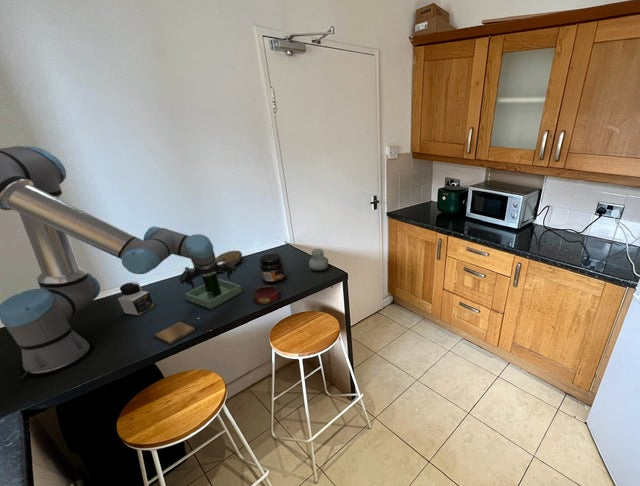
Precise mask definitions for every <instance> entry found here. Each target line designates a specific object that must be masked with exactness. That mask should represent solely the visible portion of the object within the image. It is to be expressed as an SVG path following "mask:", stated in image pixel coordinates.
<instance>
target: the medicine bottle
mask: <svg viewBox="0 0 640 486" xmlns="http://www.w3.org/2000/svg"><path fill="white" fill-rule="evenodd" d="M119 290H120V292H121V294H122V296H120V297H119V298H117V300H118V302H119V305H120V307H121V309H122V311H123V313H124V314H127V315H133V316H134V315H135V316H141V315H142V314H143V313H146V312H147V311H149V310H150V309H152V308H153V307H155V304H154V302H153V299H152V297H151V295H150V292H149V291H146V290H145V291H144V290H143V289H142V287H141V284H140V283H139V282H137V281H129V282H126V283H124V284H122V285H121V286H120V287H119Z"/></svg>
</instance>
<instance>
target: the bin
mask: <svg viewBox="0 0 640 486" xmlns="http://www.w3.org/2000/svg"><path fill="white" fill-rule="evenodd" d="M217 279H218V282H219V285H220V289H221V295H220V296H218V297H216V298H210V297H209V296H208V294H207V291H206V288H205V285H204V284H203V285H200V286H198V287H195V288H193V289H192V290H190V291H188V292H185V293H184V296H185V298H186V301H188V302H190V303H193V304H196V305H199V306H201V307H204V308H206V309H210V310H212V309H214V308H215V307H217V306H219V305H221V304H223V303H225V302H227V301H228V300H230V299H232V298H234V297H235V296H237V295H239V294H241V293H243V289H242V285H240V284H237V283H234V282H230V281H227V280H225V279H221V278H218V277H217Z"/></svg>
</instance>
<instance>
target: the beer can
mask: <svg viewBox="0 0 640 486" xmlns="http://www.w3.org/2000/svg"><path fill="white" fill-rule="evenodd" d="M200 277H201V279H202V281H203V285H205V288H206V291H207V294H208V296H209V297H210V298H216V297H218V296H220V295H221V289H220V285H219V282H218V279H219V278H218V276H217V273H216V272H211V273H208V274H203V275H201V276H200ZM217 278H218V279H217Z"/></svg>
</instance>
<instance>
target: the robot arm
mask: <svg viewBox="0 0 640 486" xmlns="http://www.w3.org/2000/svg"><path fill="white" fill-rule="evenodd" d="M66 178H67V171H66V168H65V166H64V164H63V163H62V161H61V160H59V158H57V156H55V155H53V154H52V153H51V152H50V151H48V150H46V149H43V148H40V147H37V146H31V145H29V146H28V145H24V146H23V145H20V146H19V145H15V146H8V147H1V148H0V210H3V211H15V212H17V213H18V214H19V216H20V219H21V221H22V222H21V223H22V225H23V228H24V229H25V233H26V235H27V238H28V240H29V242H30V245H31V249H32V251H33V253H34V256H35V258H36V261H37V264H38V266H39V269H40V271H41V273H40V275H38V276H37V278H36V281H37V283H38V286H39V288H32V289H28V290H25V291H22V292H20V293H15V294H14V295H11V296H9V297H8V298H6V299H4V300H3V301H2V302H1V303H0V322H1V324H2V325H3V326H4V327H5V328H6V330H7V331H8V333H9V334H10V335H11V337H12V338H13V339H14V341H15V342H16V345H18V347H19V348H20V350H21V359H22V361H21V362H22V367H23V370H24V371H25V372H24V373H23V374H22V375H21V376H20V378H19V380H24V379H25V378H26V377H27V375H29V376H44V375H49V374H53V373H56V372H59V371H61V370H64V369H66V368H68V367H71V366H73V365H74V364H76V363H78V362H80V360H82V359H83V358H85V357H86V356H87V355H88V354H89V352H90V351H91V345H90V343H89V342H88V341H87V340H86V339H85V338H83V337H82V336H81V335H80V334H79V333H77V332H75V331H74V330H73V329H72V327H71V325H70V324H69V322H68V320H69V319H70V318H72V317H73V316H75V315H76V314H77V313H78V312H80V311H81V310H82V309H84V308H85V307H86V306H89V305H90V304H91V303H92V302H94V301H95V299H96V298H97V297H98V296H99V295H100V293H101V285H100V282H99V280H98V279H97V278H96V277H93V275H92V274H91V273H89V272H87V270H86V269H84V268H83V267H79V264H78V263H79V262H78V260H77V257H76V255H75V254H76V253H75V250H74V248H73V245H72V242H71V239H70V237H71V238H74V239H76V240H78V241H80V242H82V243H85V244H87V245H89V246H91V247H93V248H95V249H98V250H100V251H102V252H105V253H107V254H109V255H111V256H112V257H116V258H117V259H119V260H121V264H122V267H123V268H124V269H126V270H127V271H128V272H129V273H132V274H135V275H145V274H148V273H149V272H151V271H152V270H154V269H156V268H157V267H159V265H160V264H161V263H162V262H164V261H165V260H166V259H168V258H169V257H170V256H172V255H173V256H178V257H182V258H187V259H190V260H191V263H192V265H193V267H191V268H190V267H188V266H186V267H184V270H183V272H182V273H181V274H180V275H179V277H178V280H179V284H180V285H183V284H186V285H188V286H189V285H190V286H191V288H192V289H196V287H195V284H194V281H193V280H195V279H196V278H198V277H202V276H201V275H203V274H208V273H211V272H218V273H226V275H227V278H228V280H231V275H233V272H237V271H238V269H237V267H236V264H235V265H234V264H231V263H229V262H227V261H226V260H225V259H223V260H222V261H221V262H219V263H218V262H217V261H216V257H217V256H216V254H215V251H214V245H213V243H212V241H211V240H210V238H209V237H208V236H206V235H204V234H201V233H198V234H197V233H196V234H191V235H189V234H185V233H181V232H178V231H174V230H171V229H168V228H165V227H160V226H150V227H149V228H147V231H145V233H144V235H143V239H142V238H139V237H137V236H136V235H133V234H131V233H128V232H127V231H124V230H123V229H121V228H119V227H116V226H115V225H113V224H111V223H109V222H106V221H105V220H103V219H100V218H99V217H96V216H94V215H93V214H91V213H88V212H86V211H85V210H82V209H81V208H78V207H77V206H74V205H72V204H70V203H68V202H66V201H64V200H62V199H61V197H62V195H63V191H62V188H61V184H62V183H64V181H65V180H66Z"/></svg>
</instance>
